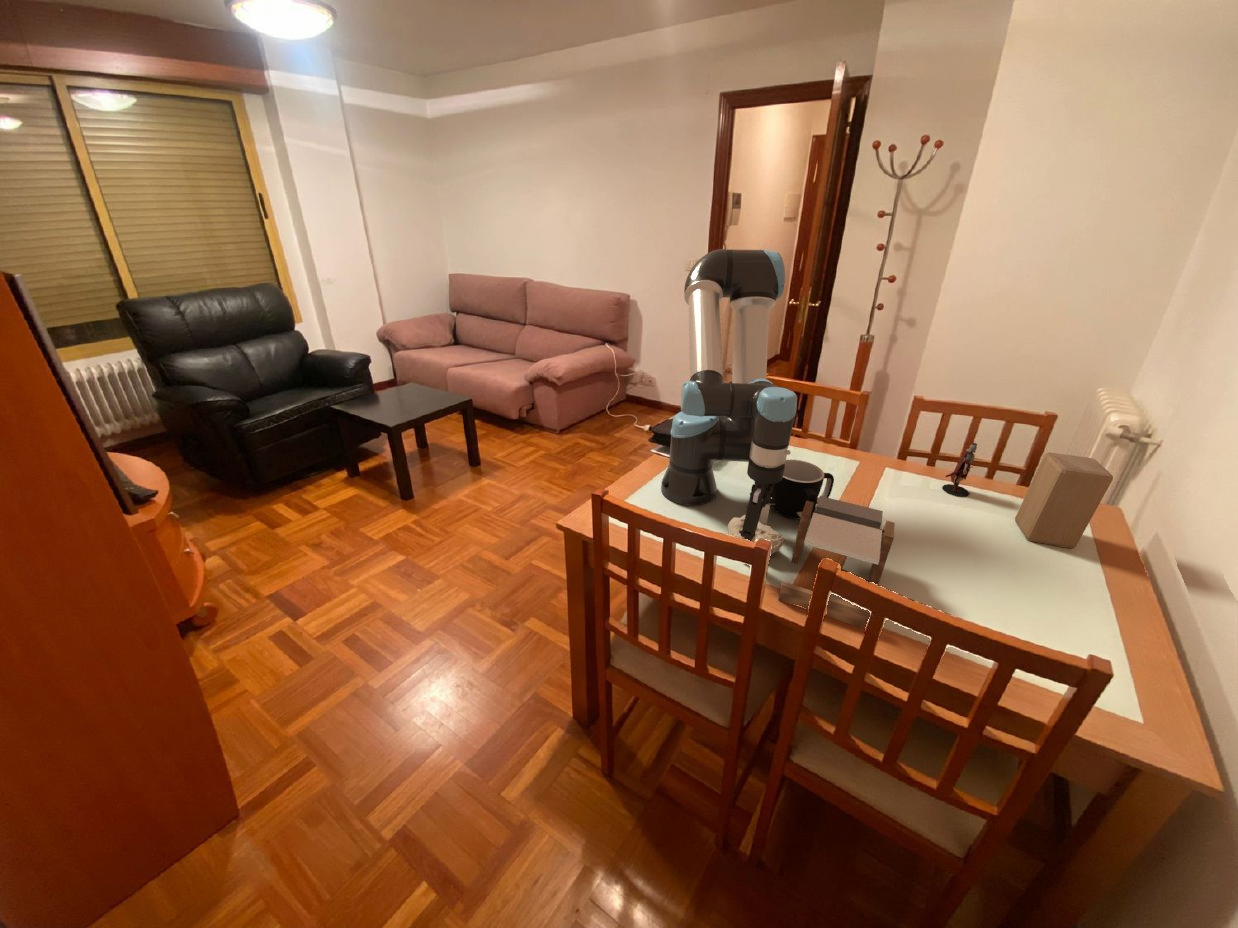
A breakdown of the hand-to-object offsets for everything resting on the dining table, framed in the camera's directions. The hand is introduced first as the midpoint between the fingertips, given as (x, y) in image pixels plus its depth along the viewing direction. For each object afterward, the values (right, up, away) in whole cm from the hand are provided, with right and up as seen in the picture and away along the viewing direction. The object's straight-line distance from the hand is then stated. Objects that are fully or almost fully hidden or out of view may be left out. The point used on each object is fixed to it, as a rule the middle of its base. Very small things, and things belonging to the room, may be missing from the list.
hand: (753, 541), depth 116 cm
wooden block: (+73, +1, +6) cm, 73 cm away
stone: (0, -1, 0) cm, 2 cm away
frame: (+13, -7, -11) cm, 19 cm away
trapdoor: (+16, +3, -12) cm, 20 cm away
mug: (+14, +6, +14) cm, 21 cm away
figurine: (+64, +10, +25) cm, 69 cm away
